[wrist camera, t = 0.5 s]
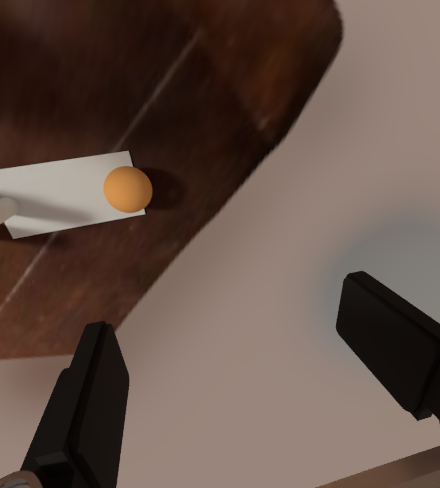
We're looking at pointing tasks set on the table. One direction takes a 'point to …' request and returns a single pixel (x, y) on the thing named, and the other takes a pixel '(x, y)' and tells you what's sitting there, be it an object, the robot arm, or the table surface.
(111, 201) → the ball
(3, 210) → the pin
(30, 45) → the table surface
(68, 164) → the lane mark
